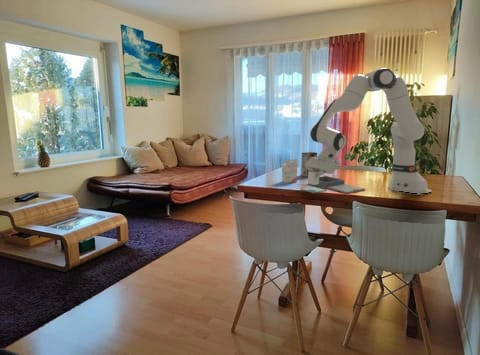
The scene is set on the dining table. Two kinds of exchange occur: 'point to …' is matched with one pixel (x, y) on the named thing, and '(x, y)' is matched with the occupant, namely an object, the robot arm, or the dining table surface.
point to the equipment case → (337, 185)
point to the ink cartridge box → (289, 171)
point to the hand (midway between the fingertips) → (312, 176)
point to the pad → (313, 189)
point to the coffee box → (305, 158)
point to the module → (313, 177)
